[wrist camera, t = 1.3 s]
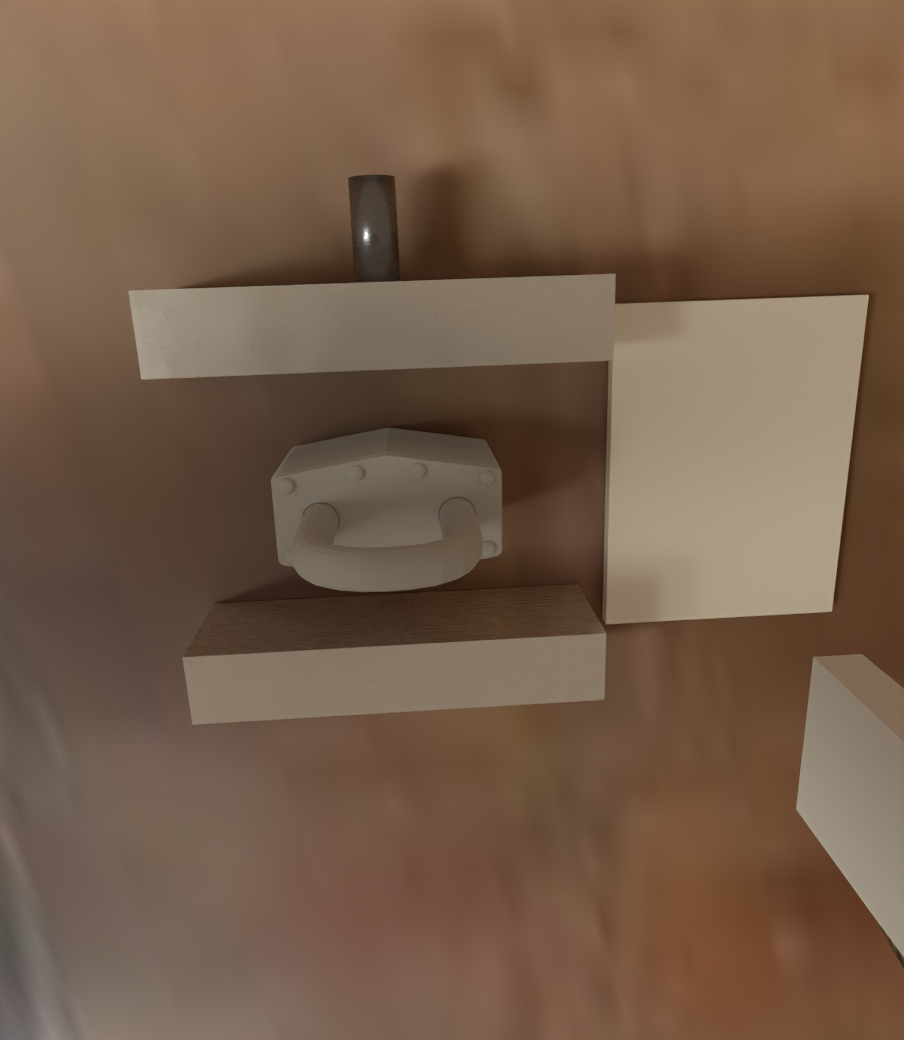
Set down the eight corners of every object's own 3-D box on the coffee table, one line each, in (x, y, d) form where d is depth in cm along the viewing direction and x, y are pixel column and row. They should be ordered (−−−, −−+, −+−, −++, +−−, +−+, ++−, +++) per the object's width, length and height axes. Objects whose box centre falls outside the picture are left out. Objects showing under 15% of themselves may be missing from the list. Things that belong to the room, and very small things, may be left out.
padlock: (486, 422, 29) (527, 493, 19) (487, 527, 30) (527, 643, 20) (289, 429, 28) (231, 504, 19) (298, 535, 29) (248, 657, 20)
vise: (221, 662, 31) (192, 724, 26) (160, 193, 26) (111, 176, 21) (576, 642, 31) (604, 699, 27) (583, 181, 26) (618, 161, 22)
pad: (602, 618, 31) (606, 624, 30) (610, 303, 28) (614, 304, 27) (824, 605, 31) (831, 611, 31) (859, 294, 28) (868, 295, 27)
